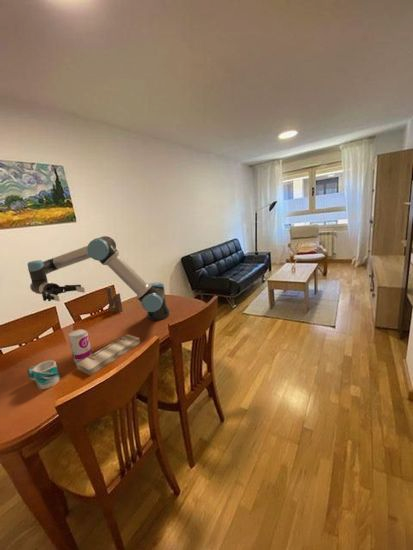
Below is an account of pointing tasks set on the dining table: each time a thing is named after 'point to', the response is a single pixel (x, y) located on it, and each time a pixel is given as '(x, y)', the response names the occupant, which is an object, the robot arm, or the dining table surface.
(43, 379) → the mug
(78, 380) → the dining table surface
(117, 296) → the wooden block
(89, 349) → the supplement can
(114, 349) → the grey compartment tray
